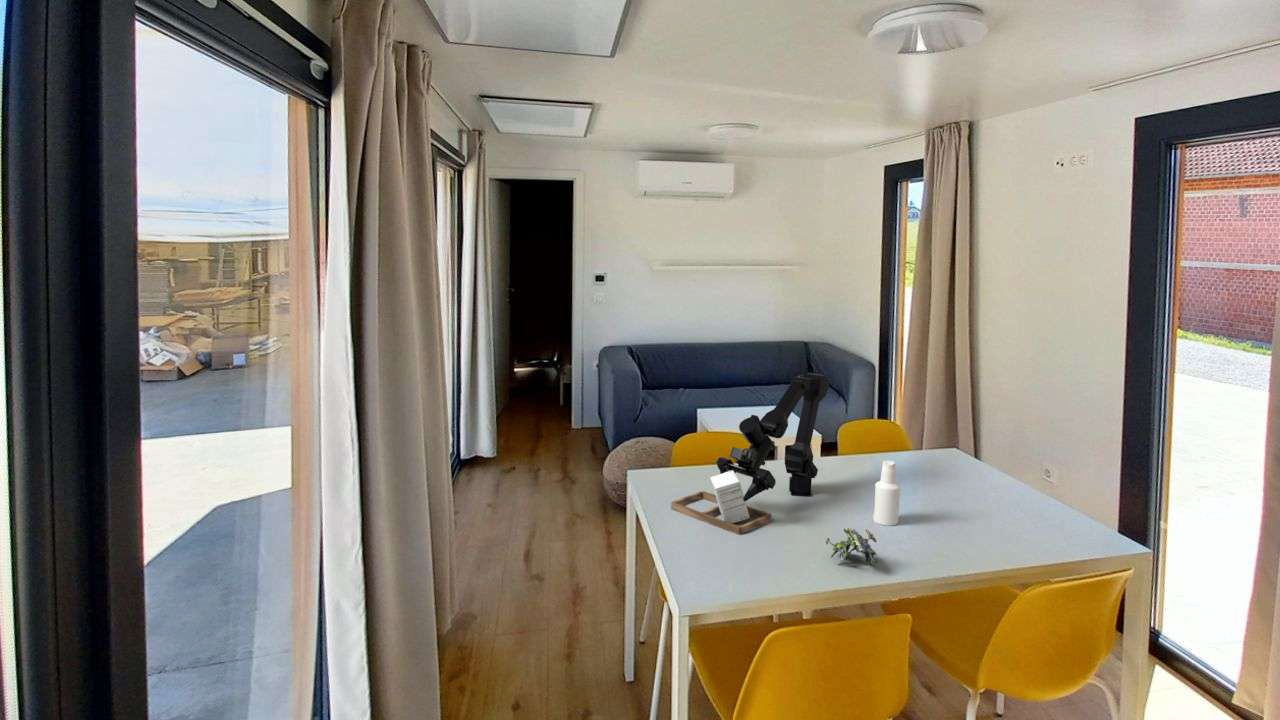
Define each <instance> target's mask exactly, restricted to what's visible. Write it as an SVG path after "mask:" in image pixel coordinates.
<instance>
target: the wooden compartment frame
mask: <svg viewBox="0 0 1280 720" xmlns="http://www.w3.org/2000/svg"><path fill="white" fill-rule="evenodd" d="M703 498H704V500H707V501H710V502H712V503H715V504H718V503H717V499H716V496H715V493H714V494H713V493H710V492H707V491H705V490H703V491H701V490H700V491H698V492H695V493H692V494H690V495H687V496H684V497H681V498H678V499H674V500H673V501H671V503H670V508H671V509H670V510H672V511H675V512H678V513H680V514H683V515H686V516H689V517H690V518H693V519H697V520H698V521H702V522H704V523H706V522H707V524H709V525H712V524H713V525H712V526H714V525H715V527H717V526H718V527H717V528H720V529H722V528H723V529H722V530H725V529H726V531H727V530H729V531H728V532H730V531H731V533H733V532H734V533H733V534H735V533H736V535H738V534H739V535H744V534H746V533H748V532H747V531H749V530H751V531H753V530H755V529H757V528H759V526H760V527H762V526H764V525H766V524H768V522H769V523H770V522H771V520H772V513H770V512H767V511H764V510H761V509H758V508H755V507H752V506H748V505H746V506H747V510H748V513H749V516H751V517H752V516H753V517H756V519H754V520H752V521H749V522H747V523H744V524H741V525H737V524H735V523H729V522H726V521H724V519H720V518H718V517H715V516H718V515H720V514H721V513H720V509H719V506H718V505H717V506H715V507H713V508H710V509H708V510H705V511H702V512H701V511H699V510H696V509H693V508H691V507H687V506H686V505H688V503H689V504H692V503H694V502H697V501H699V500H702V499H703ZM761 525H762V526H761ZM756 527H757V528H756ZM754 528H755V529H754ZM752 529H753V530H752ZM745 532H746V533H745ZM749 532H750V531H749ZM743 533H744V534H743Z"/></svg>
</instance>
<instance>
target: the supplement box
mask: <svg viewBox="0 0 1280 720" xmlns="http://www.w3.org/2000/svg"><path fill="white" fill-rule="evenodd" d="M709 478H710V482H711V485H712V488H713V491H714V495H715V496H716V499H717V503H716V504H717V506H719V509H720V514H721V516H722V518H723V519H722V520H724V521H726V522H729V523H732V524H735V523H739V522H741V521H744V520H748V519H750V515H749V513H748V510H747V506H748V505H747V504H746V501H744V500H743V498H744V496H745V494H744V492H743V489H742V486H741V482H740V479H739V478H738V476H737V474H736V473H735V472H734V471H733V470H732V471H728V472H725V473H722V474H720V473H719V474H716V475H714V476H711V477H709Z"/></svg>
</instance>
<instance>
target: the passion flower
mask: <svg viewBox="0 0 1280 720" xmlns="http://www.w3.org/2000/svg"><path fill="white" fill-rule="evenodd" d="M842 528H843V532H844V533H845V534H846V536H847V537H846V540H845V541H844V540H840V541H839V542H836V543H832V542H831V541H830V540H831V539H830V538H829V537H827V538H826V541H825V544H826V545H829V544H831V545H832V546H833V548H832V550H833V552H832V554H831V556H830V558H831V559H832V558H833V557H834V556H835V555H836V554H837V553H839V552H840V560H839V563H838V566H840V565H841V564H842V562H844V561H845V560H847V559H848V557H849V555H850V554H851V553H852V552H853V551H856V553H862V554H863V555H864V557H865V562H866V564H867V565H868V566H871V567H873V566H874V564H878V563H879V560H878V559H876V557H877V554H878V553H877V552H876V551H875V550H874V549H873V548H872V547H871V544H869V541H870V540H872V541H873V542H875V543H877V542H878V541H877V539H876V538H875V536H874V534H873V533H871V532H870V531H869V530H868V529H865V532H866V534H867V535H868V537H866V538H863V536H862V535H861V534H860V532H858V531H857V530H856V529H855V528H852V529H851V528H849V527H848V528H847V529H846V526H844V527H842ZM850 547H852V549H850ZM873 563H874V564H873Z"/></svg>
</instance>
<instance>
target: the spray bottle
mask: <svg viewBox="0 0 1280 720" xmlns="http://www.w3.org/2000/svg"><path fill="white" fill-rule="evenodd" d="M896 473H897V470H896V462H895V461H893V460H888V459H887V460H883V462H882V468H881V475H880V480H879V481H877V482H875V483H874V484H875V485H874V500H873V517H872V520H873V522H875V523H876V524H878V525H882V526H886V527H887V526H888V527H891V526H892V527H893V526H896V525H897V524H898V523H899V513H900V512H899V511H900V499H901V497H900V496H901V485H900V484H899V483H897V482H896V480H897V476H896V475H897V474H896Z"/></svg>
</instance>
